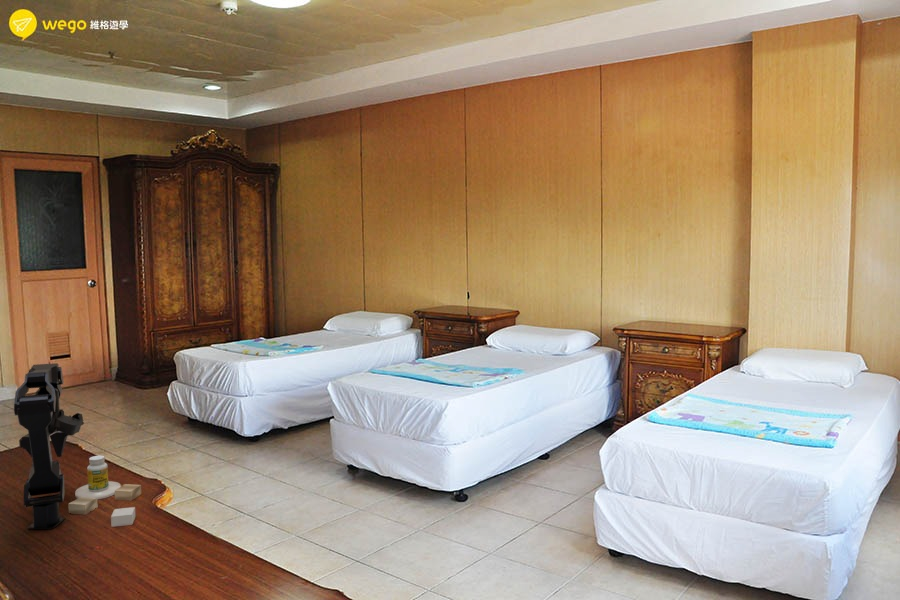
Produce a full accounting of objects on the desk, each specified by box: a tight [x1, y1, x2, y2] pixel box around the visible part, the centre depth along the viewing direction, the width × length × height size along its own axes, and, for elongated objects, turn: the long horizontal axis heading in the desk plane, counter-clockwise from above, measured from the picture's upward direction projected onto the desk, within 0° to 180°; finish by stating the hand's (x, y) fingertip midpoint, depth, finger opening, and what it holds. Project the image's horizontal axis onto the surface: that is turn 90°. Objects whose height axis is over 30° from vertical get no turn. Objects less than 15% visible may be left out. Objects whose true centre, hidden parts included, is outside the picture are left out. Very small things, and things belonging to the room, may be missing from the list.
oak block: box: [114, 483, 142, 502], centre depth 196 cm, size 5×5×3 cm
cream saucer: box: [74, 480, 122, 500], centre depth 200 cm, size 12×12×1 cm
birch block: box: [68, 497, 99, 516], centre depth 187 cm, size 5×5×3 cm
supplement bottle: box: [86, 455, 109, 492], centre depth 199 cm, size 5×5×10 cm
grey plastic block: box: [110, 506, 136, 528], centre depth 180 cm, size 5×5×3 cm
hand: (50, 462), depth 190 cm, fingers open, 9 cm apart
